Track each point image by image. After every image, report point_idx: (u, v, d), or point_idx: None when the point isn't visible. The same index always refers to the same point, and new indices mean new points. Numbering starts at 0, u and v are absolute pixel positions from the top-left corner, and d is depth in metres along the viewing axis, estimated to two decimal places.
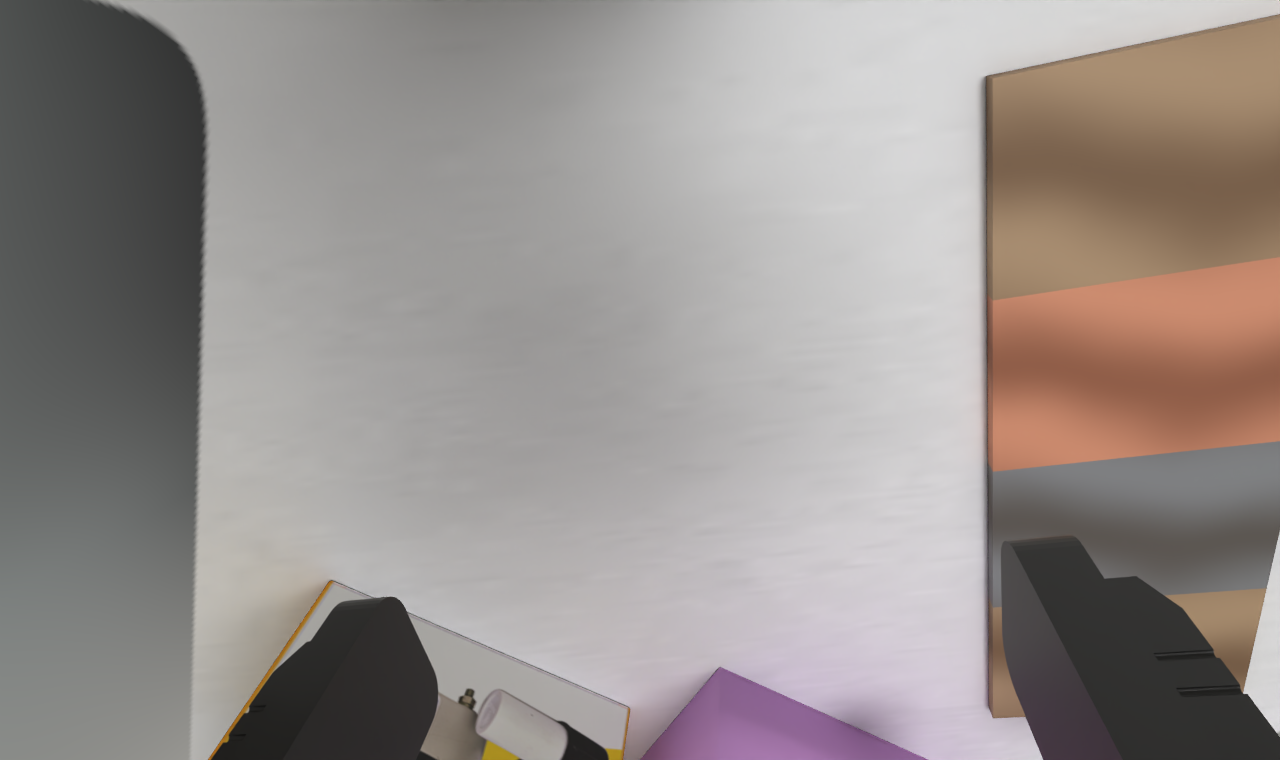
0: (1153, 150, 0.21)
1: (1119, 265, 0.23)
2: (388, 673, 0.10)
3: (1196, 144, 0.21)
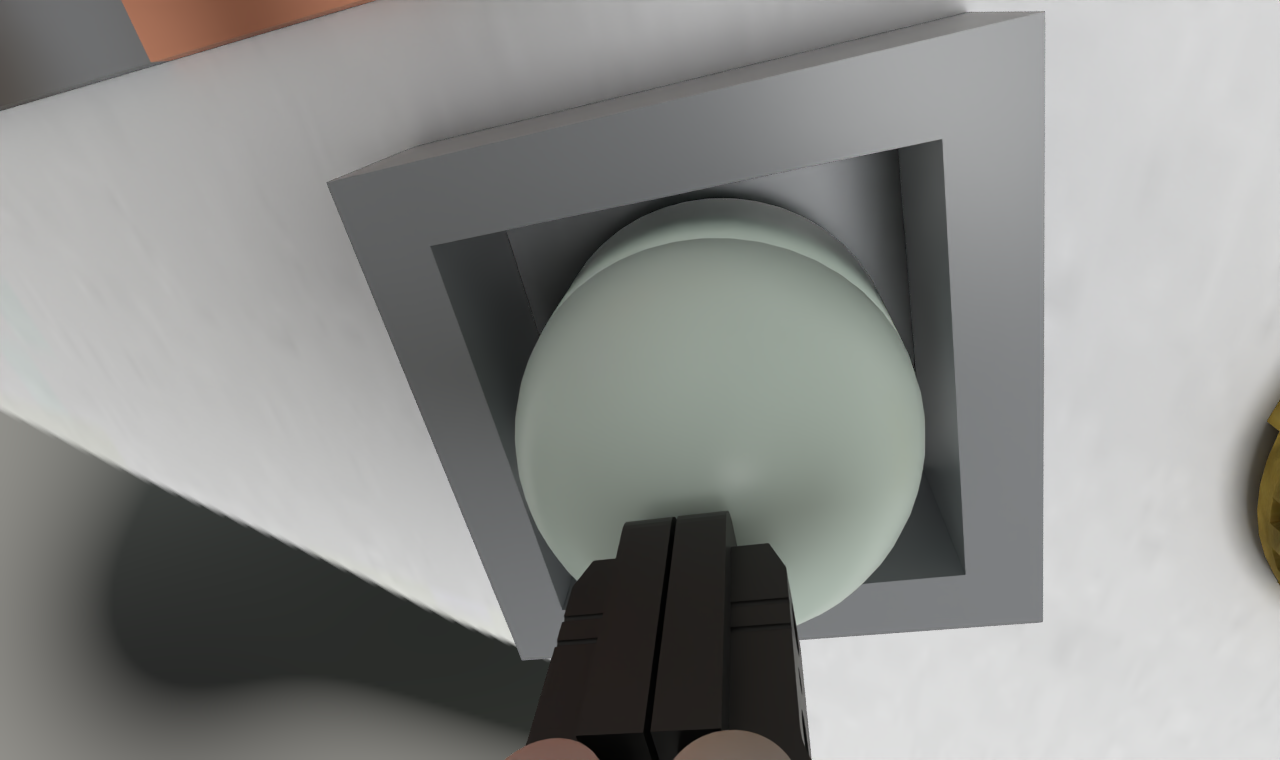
0: None
1: None
2: None
3: None
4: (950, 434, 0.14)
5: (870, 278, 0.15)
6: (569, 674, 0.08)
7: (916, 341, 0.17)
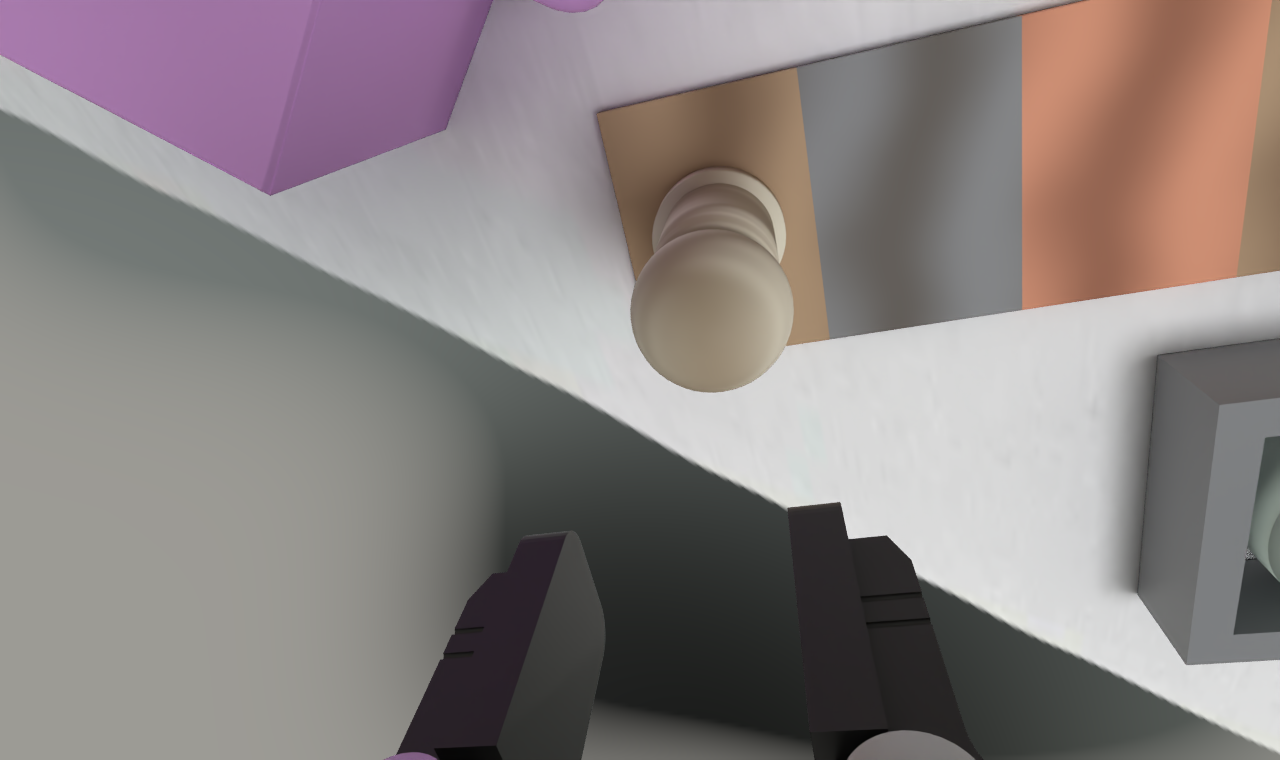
0: None
1: None
2: (575, 601, 0.10)
3: None
4: None
5: None
6: (448, 686, 0.09)
7: None
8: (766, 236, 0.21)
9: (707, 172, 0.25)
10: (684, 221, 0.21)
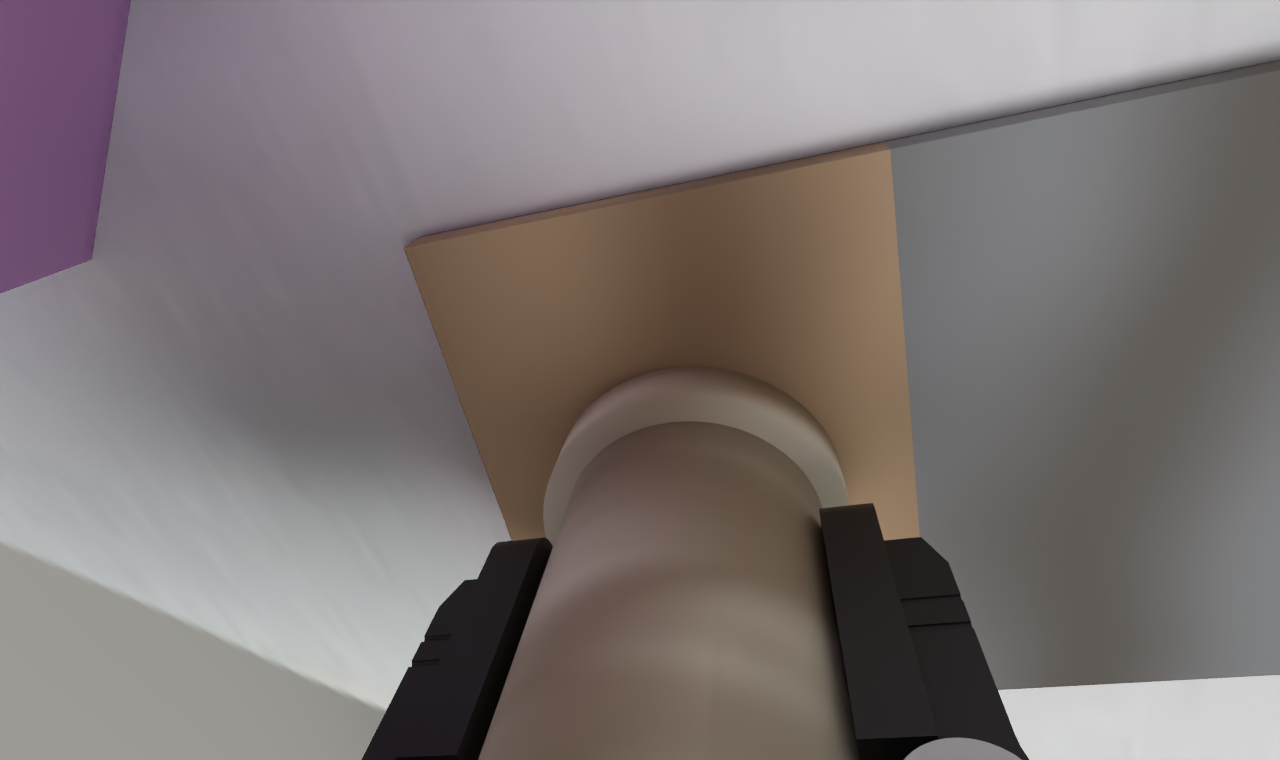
0: None
1: None
2: None
3: None
4: None
5: None
6: (415, 694, 0.09)
7: None
8: (832, 722, 0.07)
9: (665, 395, 0.10)
10: (569, 674, 0.07)
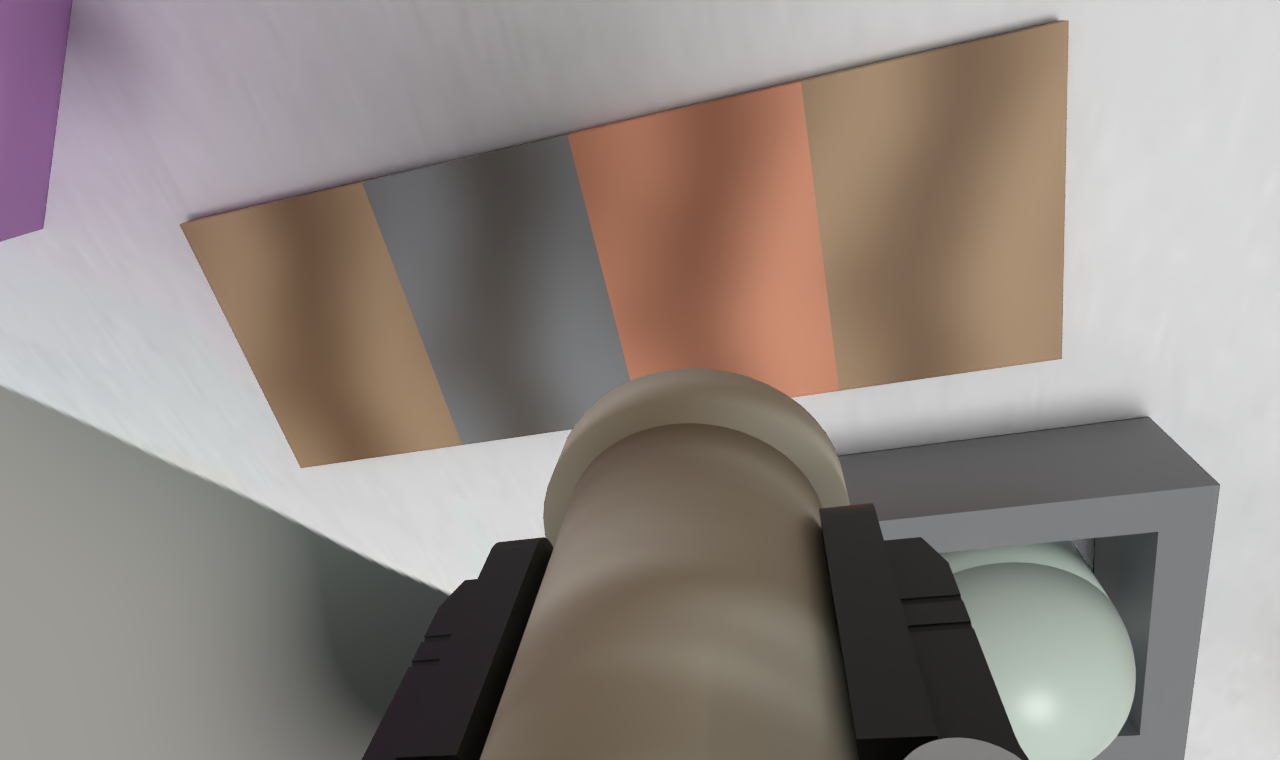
0: (957, 207, 0.22)
1: (835, 208, 0.22)
2: None
3: (957, 244, 0.22)
4: (1136, 657, 0.25)
5: None
6: (415, 694, 0.09)
7: (1098, 581, 0.27)
8: (833, 725, 0.07)
9: (665, 397, 0.10)
10: (570, 677, 0.07)
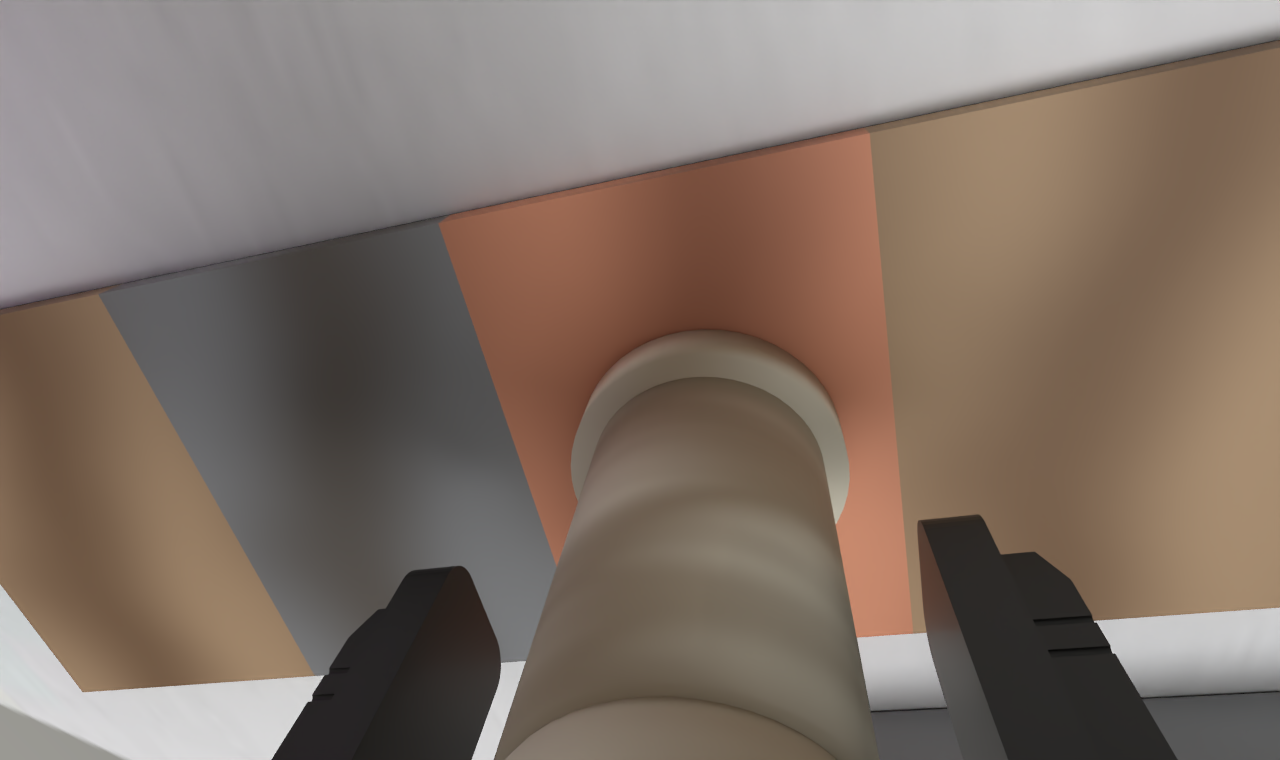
0: (1152, 360, 0.12)
1: (923, 356, 0.12)
2: (459, 639, 0.10)
3: (1143, 421, 0.12)
4: None
5: None
6: (309, 732, 0.08)
7: None
8: (830, 612, 0.08)
9: (682, 353, 0.12)
10: (609, 572, 0.08)
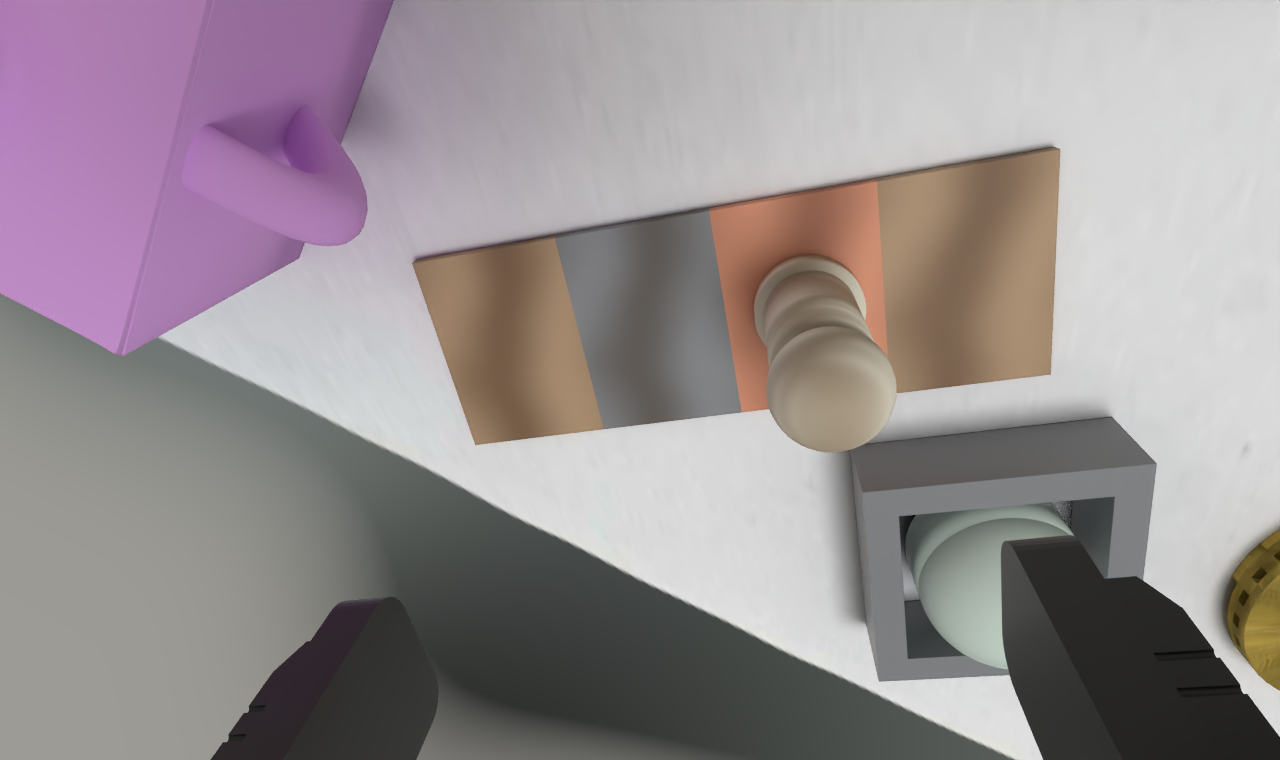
0: (980, 268, 0.31)
1: (895, 266, 0.31)
2: (387, 672, 0.10)
3: (979, 293, 0.31)
4: None
5: None
6: None
7: None
8: (865, 325, 0.27)
9: (804, 261, 0.31)
10: (801, 312, 0.27)
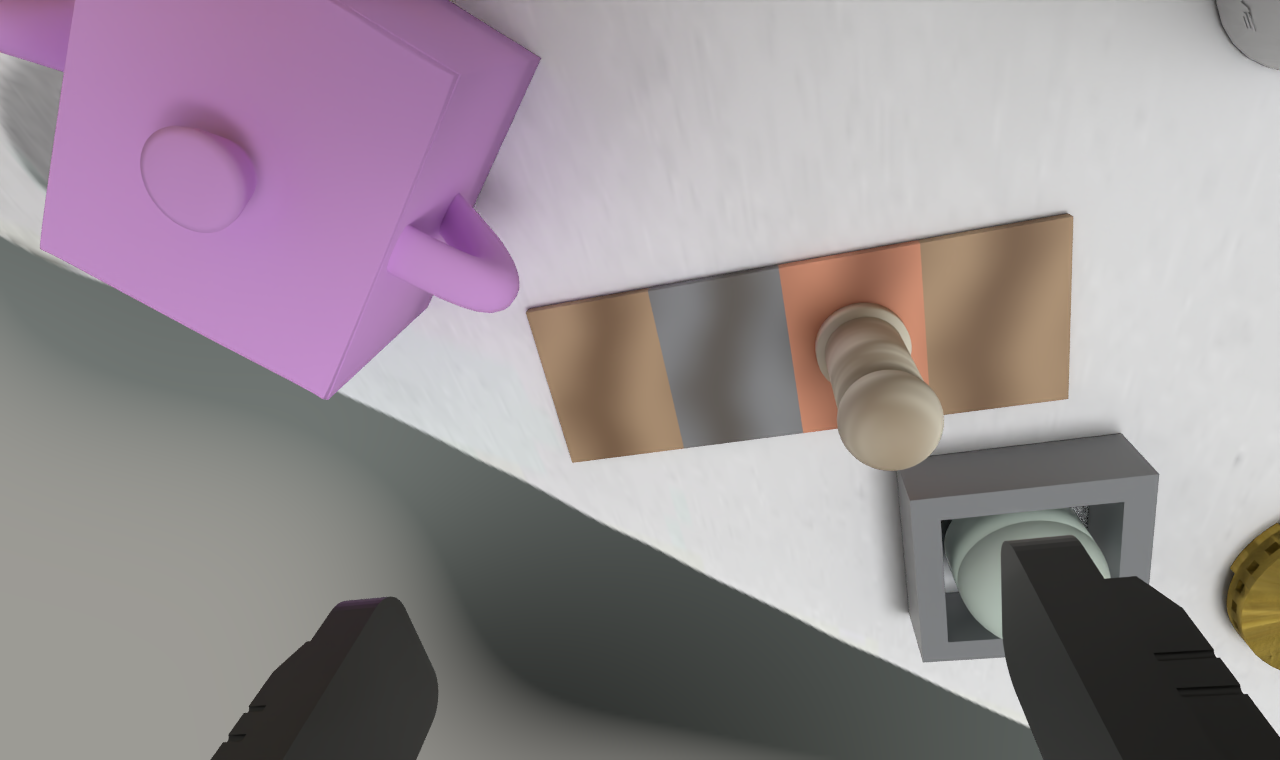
0: (1007, 312, 0.37)
1: (935, 311, 0.37)
2: (387, 672, 0.10)
3: (1006, 332, 0.38)
4: None
5: None
6: None
7: None
8: (915, 365, 0.33)
9: (859, 309, 0.37)
10: (862, 355, 0.33)
